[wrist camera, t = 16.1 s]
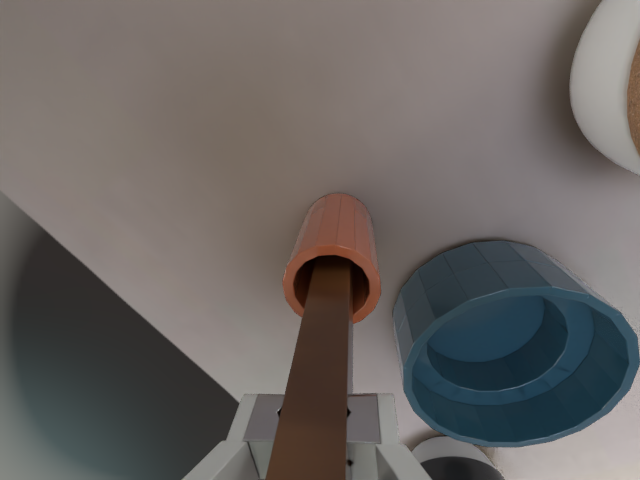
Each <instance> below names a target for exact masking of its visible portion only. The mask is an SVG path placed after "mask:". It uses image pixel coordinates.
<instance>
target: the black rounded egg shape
mask: <svg viewBox="0 0 640 480" xmlns="http://www.w3.org/2000/svg"><path fill="white" fill-rule="evenodd" d="M411 453H412V454H413V455H414V457H415V458H416V459H417V461H418V462H419V463H420V465H421V466H422V467H423V468H424V470H425V471H426V472H427V474H428V475H429V476H430V478H431V479H432V480H505V479H504V477H503V476H502V475H501V473H500V472H499V471H498V470H496V469H495V467H494V466H493V464H492V463H491V461H490V460H489V459H488V458H487V456H486V455H485V454H484V453H483V452H482V451H480V450H479V449H478V448H477V447H475V446H474V445H472V444H471V443H466V442H462V441H458V440H455V439H453V438H451V437H446V436H443V437H435V438H431V439H428V440H425V441H423V442H422V443H420V444H419V445H418V446H416V447H415V448H414V450H413V451H412V452H411Z"/></svg>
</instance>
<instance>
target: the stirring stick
mask: <svg viewBox="0 0 640 480" xmlns="http://www.w3.org/2000/svg"><path fill="white" fill-rule="evenodd" d="M348 394H353V261H352V260H350V259H348V258H345V257H341V256H338V255H323V256H317V257H316V261H315V265H314V270H313V274H312V278H311V283H310V287H309V291H308V296H307V300H306V304H305V309H304V313H303V317H302V322H301V326H300V330H299V335H298V339H297V343H296V348H295V352H294V356H293V361H292V365H291V369H290V374H289V378H288V382H287V387H286V391H285V395H284V400H283V404H282V409H281V413H280V417H279V422H278V426H277V430H276V435H275V439H274V443H273V448H272V452H271V456H270V461H269V465H268V469H267V474H266V478H265V480H352V479H351V472H350V460H349V457H348V450H347V443H346V439H347V417H348V410H347V397H348Z"/></svg>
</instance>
